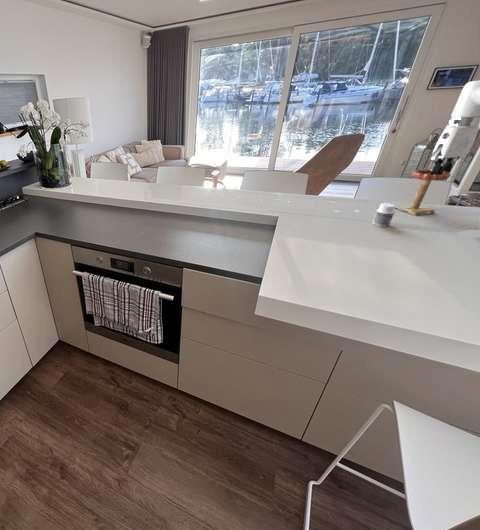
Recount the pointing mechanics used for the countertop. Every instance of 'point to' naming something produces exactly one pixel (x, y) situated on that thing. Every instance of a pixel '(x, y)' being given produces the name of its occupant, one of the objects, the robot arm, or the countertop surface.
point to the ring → (429, 175)
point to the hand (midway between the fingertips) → (439, 175)
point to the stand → (420, 199)
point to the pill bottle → (384, 215)
